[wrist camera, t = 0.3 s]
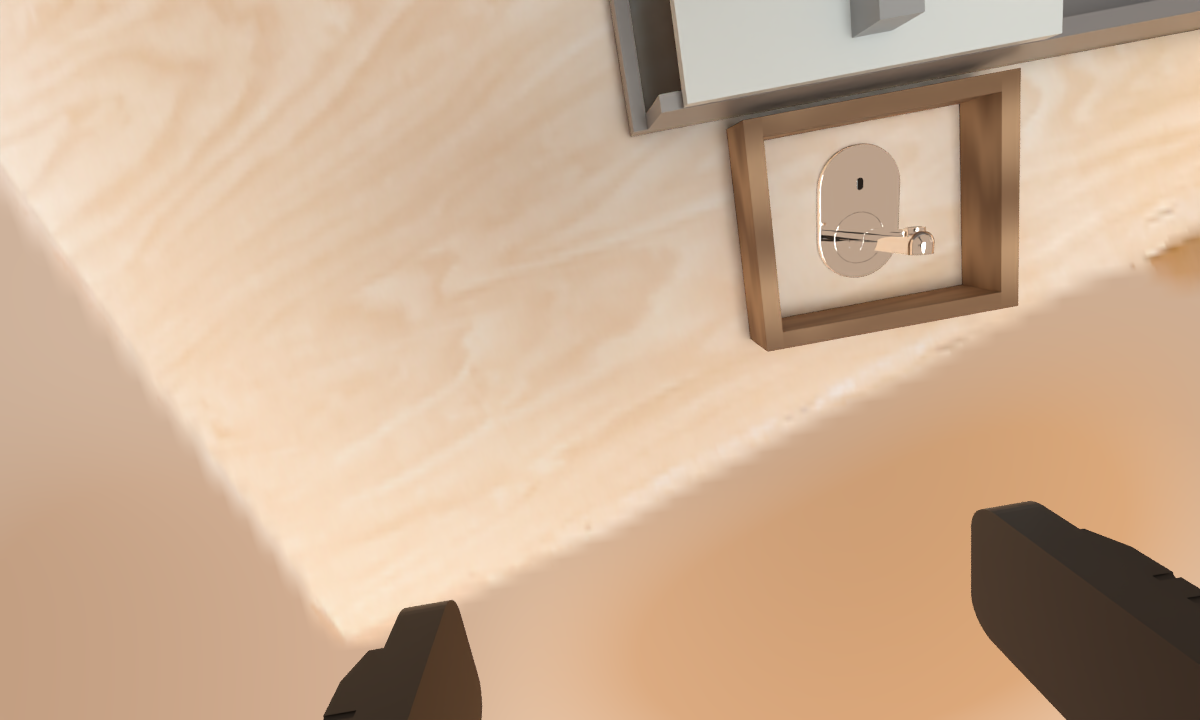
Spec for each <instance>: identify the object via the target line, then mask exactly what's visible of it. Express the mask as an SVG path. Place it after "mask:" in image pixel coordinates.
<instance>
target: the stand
mask: <svg viewBox="0 0 1200 720" xmlns="http://www.w3.org/2000/svg"><path fill="white" fill-rule="evenodd" d="M899 196H900V175H899V170H898V167H897V165H896V163H895V161H894V159H893V158H892V157H891V155H890V154H889V153H888V152H886V151H885V150H884V149H882V148H880V147H878V146H876V145H871V144H858V145H853V146H849V147H847V148H844V149H842V150H840V151H839V152H837V153H836V154H835V155H833V156H832V157H831V158H830V159H829V160H828V162H827V163H826V165H825V166H824V167H823V170H822V172H821V174H820V176H819V180H818V185H817V246H818V252H819V255H820V257H821V259H822V261H823V263H824V264H825V265H826V266H827V267H828V268H829V269H830V270H832V271H833V272H834V273H837V274H839V275H842V276H846V277H862V276H867V275H869V274H871V273H874V272H875V271H877V270H878V269H880V268H881V267H882V266H883V265H884V264H885V263H886V262H887V261H888V260H889V258H890V257H891V255H892V254H893V253H897V254H905V255H927V254H933V253H934V238H933V236H932V234H931V233H929V232H927V231H926V227H907V228H903V229H898V225H899Z"/></svg>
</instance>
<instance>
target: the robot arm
mask: <svg viewBox="0 0 1200 720" xmlns="http://www.w3.org/2000/svg"><path fill="white" fill-rule="evenodd" d="M971 596H972V603H973V606H974V610H975V613H976V616H977V618H978V620H979V622H980V624H981V626H982V628H983V630H984V631H985V633H986V634H987V636H988V637H989V638H990V639H991V641H992V642H993V643H994V644H995V645H996V646H997V647H998V648H999V649H1000V650H1001V651H1002V652H1003V653H1004V654H1005V656H1006V657H1007V658H1008V659H1009V660H1010V661H1011V662H1012V663H1013V664H1014V665H1015V666H1016V667H1017V668H1018V669H1019V670H1020V671H1021V672H1022V673H1023V674H1024V675H1025V677H1026V678H1027V679H1028V680H1029V681H1030V682H1031V683H1032V684H1033V685H1034V686H1035V687H1036V688H1037V689H1038V690H1039V691H1040V692H1041V693H1042V694H1043V695H1044V697H1045V698H1046V699H1047V700H1048V701H1049V702H1050V703H1051V704H1052V705H1053V706H1054V707H1055V708H1056V709H1057V710H1058V711H1059V712H1060V713H1061V714H1062V715H1063V717H1064V718H1066V720H1200V589H1199V588H1198V587H1196V586H1195V585H1193V584H1191V583H1189V582H1188V581H1186V580H1185V579H1183V578H1181V577H1180V578H1175V576H1174V575H1173V572H1172V571H1170V570H1169V569H1167V568H1165V567H1164V566H1162V565H1160V564H1159V563H1157V562H1155V561H1154V560H1152V559H1151V558H1149V557H1147V556H1145V555H1144V554H1142V553H1141V552H1139V551H1138V550H1136V549H1134V548H1133V547H1131V546H1128V545H1125V544H1123V543H1120V542H1117V541H1115V540H1112V539H1110V538H1107V537H1104V536H1102V535H1099V534H1096V533H1094V532H1091V531H1089V530H1086V529H1079V528H1077V527H1076V526H1074V525H1072V524H1071V523H1069V522H1068V521H1066V520H1065V519H1063V518H1061V517H1060V516H1058V515H1057V514H1055V513H1054V512H1052V511H1051V510H1049V509H1047V508H1046V507H1044V506H1043V505H1041V504H1039V503H1036V502H1033V501H1028V502H1021V503H1016V504H1010V505H1004V506H999V507H993V508H987V509H981V510H978V511H976V513H975V514H974V516H973V518H972V524H971ZM481 718H482V697H481V687H480V681H479V677H478V674H477V670H476V667H475V663H474V660H473V656H472V653H471V649H470V645H469V642H468V639H467V635H466V631H465V628H464V625H463V621H462V618H461V614H460V611H459V608H458V606H457V604H456V602H454V601H453V600H449V601H443V602H437V603H432V604H426V605H420V606H414V607H409V608H404V609H403V610H402V611H401V612H400V613H399V615H398V617H397V620H396V622H395V624H394V626H393V629H392V631H391V633H390V635H389V638H388V640H387V642H386V644H385V647H384V648H381V649H376V650H370V651H368V652H367V653H366V654H365V655H364V656H363V658H362V659H361V660H360V661H359V662H358V663H357V664H356V665H355V666H354V667H353V668H352V670H351V671H350V672H349V673H348V674H347V675H346V676H345V677H344V678H343V680H342V681H341V682H340V684H339V686H338V688H337V690H336V692H335V694H334V696H333V698H332V700H331V702H330V704H329V706H328V708H327V710H326V712H325V714H324V720H481Z"/></svg>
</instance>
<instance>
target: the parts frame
mask: <svg viewBox="0 0 1200 720" xmlns="http://www.w3.org/2000/svg"><path fill="white" fill-rule="evenodd" d="M1020 80H1021V68H1017V69H1012V70H1007V71H1001V72H996V73H991V74H985V75H980V76H975V77H970V78H964V79H959V80H954V81H948V82H943V83H938V84H933V85H927V86H922V87H917V88H911V89H906V90H901V91H895V92H890V93H885V94H880V95H874V96H869V97H864V98H858V99H853V100H848V101H842V102H837V103H832V104H827V105H821V106H816V107H811V108H805V109H800V110H795V111H789V112H784V113H779V114H774V115H768V116H763V117H758V118H752V119H747V120H743V121H741V122H739V123H737V124H735V125H734V126H732V127H730V128H728V129H727V137H728V146H729V155H730V163H731V172H732V181H733V189H734V198H735V207H736V216H737V224H738V233H739V242H740V250H741V259H742V268H743V277H744V285H745V294H746V303H747V311H748V320H749V329H750V338H751V339H752V340H753V341H754V342H756V343H757V344H758V345H760V346H761V347H762V348H764V349H765V350H766V351H774V350H779V349H784V348H790V347H795V346H801V345H806V344H812V343H817V342H823V341H828V340H834V339H839V338H844V337H850V336H855V335H861V334H866V333H872V332H877V331H883V330H888V329H893V328H899V327H904V326H910V325H915V324H921V323H926V322H932V321H937V320H943V319H948V318H953V317H959V316H964V315H970V314H975V313H981V312H986V311H992V310H997V309H1003V308H1008V307H1013V306H1018V267H1019V174H1020ZM955 104H960V155H961V223H962V285H958V286H953V287H947V288H942V289H936V290H931V291H926V292H920V293H915V294H909V295H904V296H898V297H893V298H888V299H882V300H877V301H871V302H866V303H860V304H855V305H850V306H844V307H839V308H833V309H828V310H822V311H817V312H812V313H806V314H801V315H795V316H790V317H784V318H781V309H780V299H779V289H778V279H777V269H776V259H775V249H774V239H773V229H772V219H771V209H770V199H769V189H768V179H767V169H766V158H765V148H764V140H769V139H774V138H779V137H784V136H790V135H795V134H800V133H806V132H811V131H816V130H822V129H827V128H832V127H838V126H843V125H848V124H854V123H859V122H864V121H869V120H875V119H880V118H885V117H891V116H896V115H901V114H907V113H912V112H917V111H923V110H928V109H933V108H939V107H944V106H949V105H955Z"/></svg>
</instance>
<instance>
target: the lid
mask: <svg viewBox="0 0 1200 720" xmlns="http://www.w3.org/2000/svg"><path fill="white" fill-rule="evenodd" d="M670 5H671V13H672V21H673V28H674V36H675V43H676V51H677V58H678V66H679V74H680V81H681V89H682V96H683V104H684V108H685V107H690V106H696V105H701V104H706V103H711V102H717V101H722V100H727V99H732V98H738V97H743V96H748V95H754V94H759V93H764V92H769V91H775V90H780V89H785V88H791V87H796V86H801V85H806V84H812V83H817V82H822V81H828V80H833V79H838V78H843V77H849V76H854V75H859V74H865V73H870V72H875V71H880V70H886V69H891V68H896V67H902V66H907V65H912V64H917V63H923V62H928V61H933V60H939V59H944V58H949V57H954V56H960V55H965V54H970V53H975V52H981V51H986V50H991V49H997V48H1002V47H1007V46H1012V45H1018V44H1023V43H1028V42H1034V41H1039V40H1044V39H1048V38H1050V37H1053V36H1056V35H1059V34H1061V33H1062V22H1063V0H670Z"/></svg>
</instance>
